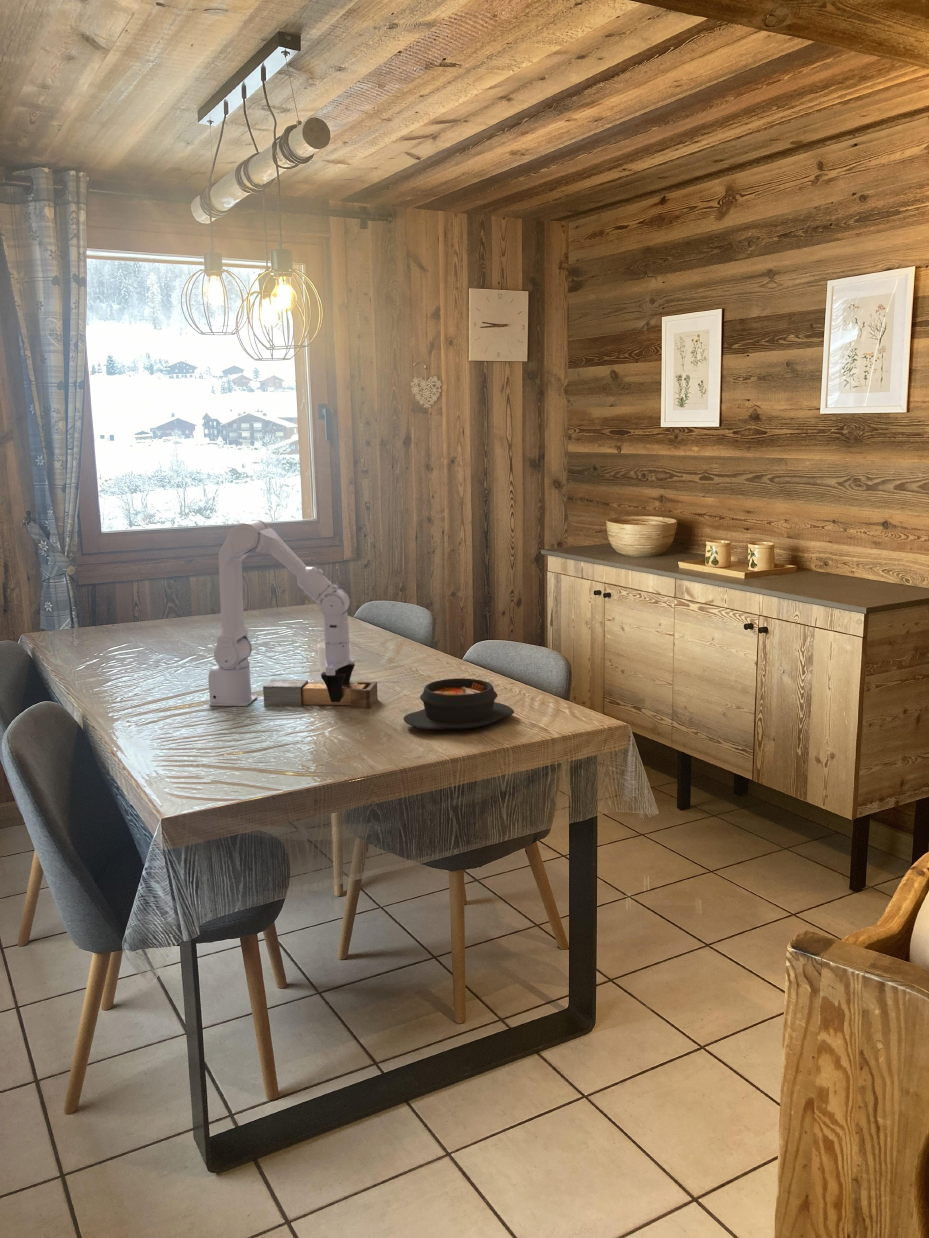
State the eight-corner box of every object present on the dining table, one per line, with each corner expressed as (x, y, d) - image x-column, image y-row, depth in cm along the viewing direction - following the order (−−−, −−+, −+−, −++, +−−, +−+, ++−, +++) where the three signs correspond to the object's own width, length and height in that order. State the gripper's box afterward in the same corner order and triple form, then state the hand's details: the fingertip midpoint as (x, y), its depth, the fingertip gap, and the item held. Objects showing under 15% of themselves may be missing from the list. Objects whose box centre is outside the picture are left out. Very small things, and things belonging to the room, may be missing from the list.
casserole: (489, 705, 229) (489, 670, 227) (530, 725, 212) (529, 688, 211) (390, 721, 218) (389, 684, 216) (424, 743, 201) (423, 704, 200)
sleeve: (264, 706, 231) (263, 686, 231) (273, 698, 238) (271, 679, 237) (301, 706, 230) (300, 687, 229) (308, 699, 237) (307, 679, 236)
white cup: (321, 687, 248) (319, 648, 246) (317, 679, 256) (315, 642, 254) (352, 684, 250) (350, 646, 248) (347, 677, 258) (345, 639, 256)
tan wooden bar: (296, 704, 232) (295, 688, 231) (301, 699, 236) (300, 683, 235) (362, 705, 230) (361, 688, 229) (366, 700, 234) (365, 684, 233)
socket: (351, 708, 228) (350, 690, 227) (358, 699, 236) (358, 681, 235) (370, 708, 228) (369, 690, 227) (377, 699, 235) (376, 681, 234)
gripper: (346, 648, 222) (348, 706, 225) (360, 635, 236) (362, 689, 239) (315, 648, 223) (318, 705, 226) (332, 635, 237) (334, 689, 240)
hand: (339, 697), depth 232 cm, fingers open, 6 cm apart
